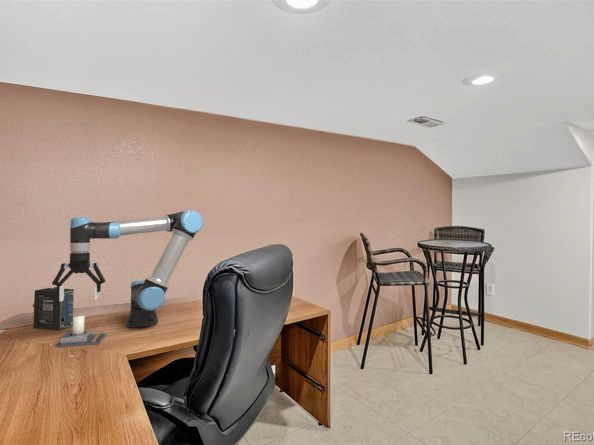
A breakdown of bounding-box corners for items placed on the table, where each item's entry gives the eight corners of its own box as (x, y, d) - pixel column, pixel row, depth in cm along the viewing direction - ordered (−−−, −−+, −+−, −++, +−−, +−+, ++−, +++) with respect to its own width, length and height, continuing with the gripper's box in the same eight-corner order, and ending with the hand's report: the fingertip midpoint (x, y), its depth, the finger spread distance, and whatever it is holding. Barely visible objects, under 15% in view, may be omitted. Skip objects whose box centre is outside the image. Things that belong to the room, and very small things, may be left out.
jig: (106, 335, 159) (106, 327, 159) (98, 344, 146) (99, 336, 146) (67, 337, 154) (67, 330, 154) (56, 347, 142) (56, 339, 142)
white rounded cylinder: (85, 337, 152) (86, 315, 153) (81, 340, 148) (82, 317, 148) (74, 337, 151) (75, 315, 151) (70, 341, 147) (71, 317, 147)
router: (61, 330, 165) (62, 289, 165) (30, 328, 168) (32, 288, 169) (75, 326, 172) (76, 287, 173) (45, 323, 176) (46, 285, 176)
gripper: (113, 251, 157) (112, 296, 157) (51, 251, 151) (50, 299, 150) (108, 252, 150) (108, 300, 150) (43, 253, 143) (42, 303, 143)
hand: (79, 300), depth 150 cm, fingers open, 13 cm apart
